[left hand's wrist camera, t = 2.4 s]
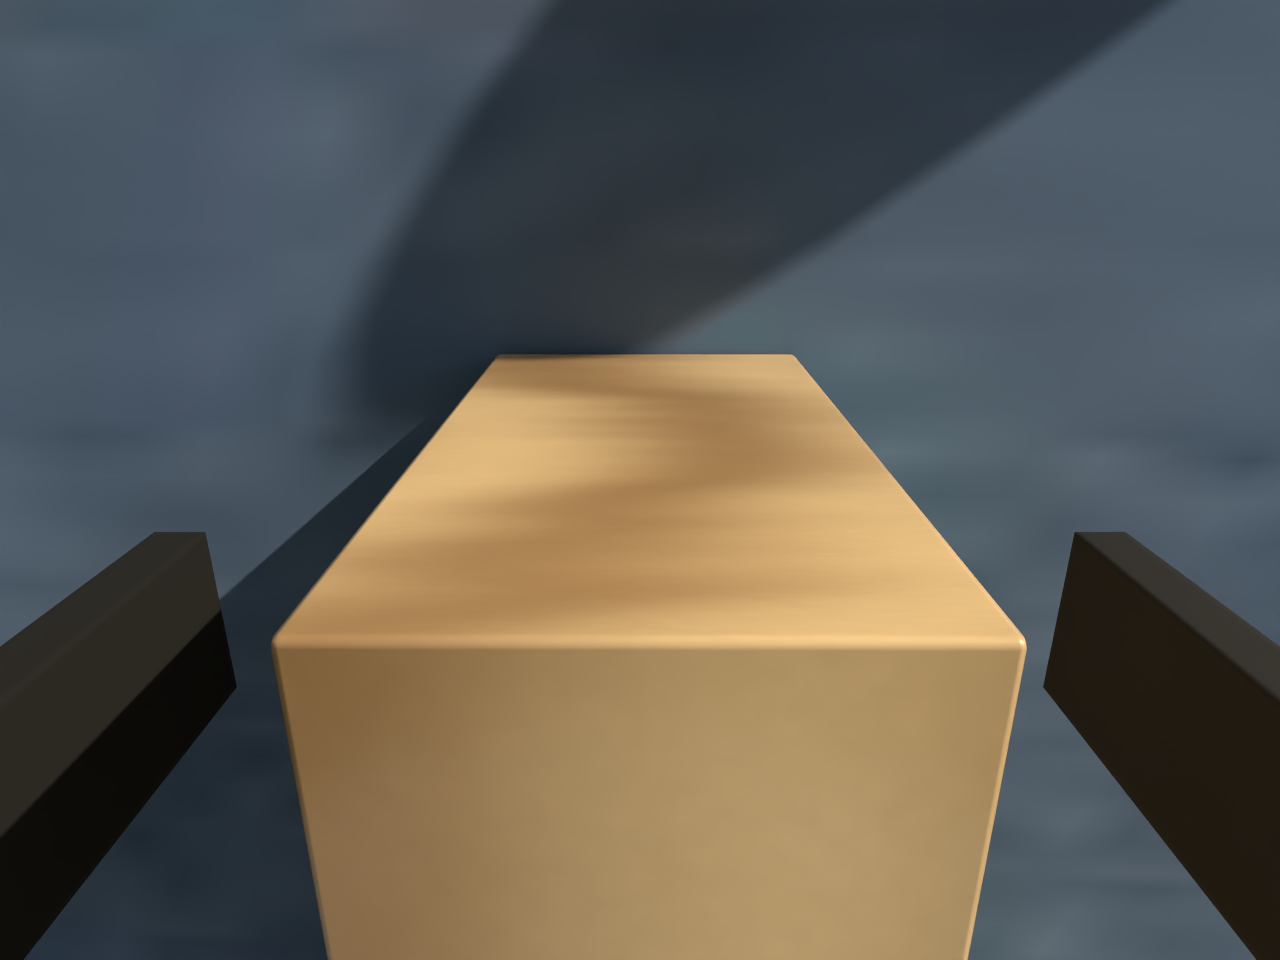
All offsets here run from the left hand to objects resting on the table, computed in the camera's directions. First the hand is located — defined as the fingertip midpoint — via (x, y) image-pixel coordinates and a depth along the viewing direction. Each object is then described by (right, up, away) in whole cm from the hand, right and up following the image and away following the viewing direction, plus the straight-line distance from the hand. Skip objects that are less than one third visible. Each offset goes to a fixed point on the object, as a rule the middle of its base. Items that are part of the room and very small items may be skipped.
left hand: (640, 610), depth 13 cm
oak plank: (0, -8, +6) cm, 10 cm away
